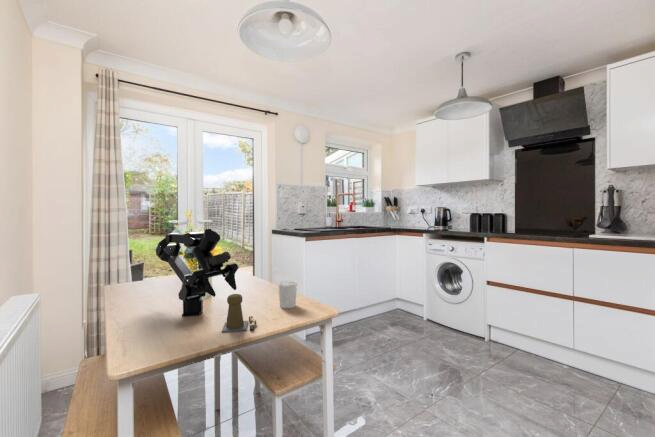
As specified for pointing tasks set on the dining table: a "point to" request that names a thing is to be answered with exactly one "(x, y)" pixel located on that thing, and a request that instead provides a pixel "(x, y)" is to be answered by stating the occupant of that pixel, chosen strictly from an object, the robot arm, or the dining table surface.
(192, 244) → the robot arm
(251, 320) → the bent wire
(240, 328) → the slate pad
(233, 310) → the olive pawn
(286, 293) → the white cup
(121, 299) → the dining table surface
